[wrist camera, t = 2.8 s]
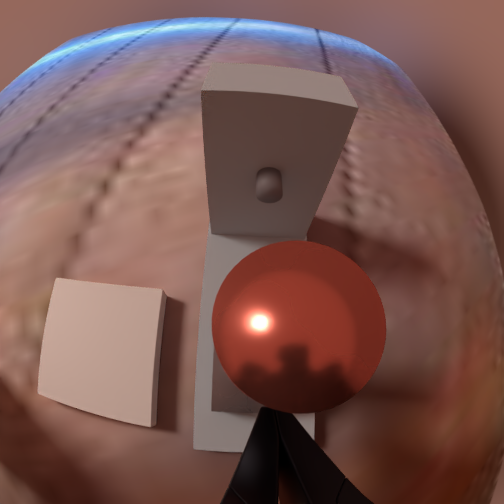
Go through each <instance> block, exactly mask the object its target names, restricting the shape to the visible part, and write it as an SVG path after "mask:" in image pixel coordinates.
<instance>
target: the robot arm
mask: <svg viewBox="0 0 504 504" xmlns="http://www.w3.org/2000/svg"><path fill="white" fill-rule="evenodd" d="M278 496H279V500H280V504H374V503H373V502H371V501H370V500H369V499H368V498H367V497H365V496H364V495H363V494H362V493H361V492H360V491H359V490H358V489H357V488H356V487H355V486H354V485H353V484H352V483H351V482H350V481H349V480H348V478H345V475H344V474H343V473H342V472H341V471H340V470H339V469H338V467H337V466H336V465H335V464H334V463H333V462H332V461H331V459H330V458H329V457H328V456H327V455H326V454H325V453H324V451H323V450H322V449H321V448H320V447H319V445H318V444H317V443H316V442H315V441H314V439H313V438H312V437H311V436H310V435H309V433H308V432H307V431H306V430H305V428H304V427H303V426H302V425H301V424H300V422H299V421H298V420H297V419H296V417H295V416H294V415H293V413H288V412H282V411H278V410H275V409H271V408H269V407H267V406H262V407H260V410H259V412H258V415H257V418H256V420H255V423H254V426H253V428H252V431H251V433H250V436H249V438H248V441H247V443H246V446H245V448H244V451H243V453H242V456H241V458H240V461H239V463H238V465H237V468H236V470H235V472H234V475H233V477H232V479H231V482H230V484H229V488H227V490H226V492H225V495H224V497H223V499H222V501H221V503H220V504H278Z"/></svg>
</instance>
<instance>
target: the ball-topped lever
mask: <svg viewBox="0 0 504 504" xmlns="http://www.w3.org/2000/svg"><path fill="white" fill-rule="evenodd" d="M212 337H213V343H214V353H213V374H212V400H211V411H214V412H233V413H258V412H259V410H260V407H262V406H267V407H269V408H271V409H275V410H278V411H282V412H288V413H295V414H308V413H315V412H321V411H324V410H327V409H331V408H333V407H335V406H338V405H340V404H342V403H344V402H345V401H347V400H348V399H350V398H351V397H353V396H354V395H355V394H356V393H358V392H359V391H360V390H361V389H362V388H363V387H364V386H365V385H366V383H367V382H368V381H369V380H370V378H371V377H372V375H373V374H374V372H375V370H376V368H377V366H378V364H379V362H380V360H381V357H382V354H383V350H384V345H385V340H386V319H385V314H384V308H383V305H382V302H381V299H380V297H379V294H378V292H377V290H376V288H375V286H374V285H373V283H372V281H371V280H370V279H369V277H368V276H367V275H366V273H365V272H364V271H363V270H362V269H361V268H360V267H359V266H358V265H357V264H356V263H355V262H354V261H352V260H351V259H350V258H349V257H347V256H345V255H344V254H342V253H341V252H339V251H337V250H335V249H333V248H331V247H328V246H325V245H322V244H319V243H314V242H309V241H283V242H277V243H273V244H270V245H267V246H264V247H262V248H259V249H257V250H256V251H254V252H252V253H250V254H249V255H247V256H246V257H245V258H243V259H242V260H241V261H240V262H239V263H237V264H236V265H235V266H234V267H233V269H232V270H231V271H230V272H229V273H228V275H227V276H226V278H225V279H224V281H223V283H222V284H221V286H220V288H219V291H218V293H217V295H216V299H215V302H214V306H213V312H212Z"/></svg>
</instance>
